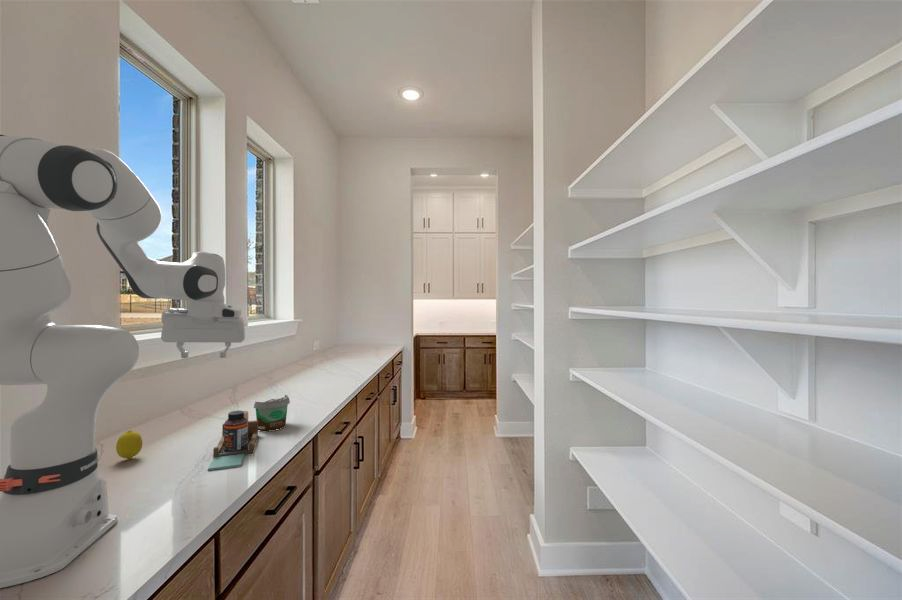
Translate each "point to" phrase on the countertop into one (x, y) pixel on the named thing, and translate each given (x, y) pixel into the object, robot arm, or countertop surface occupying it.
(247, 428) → the peach capsule
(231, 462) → the coaster
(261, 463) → the countertop surface
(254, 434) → the rack
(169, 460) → the countertop surface
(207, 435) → the countertop surface
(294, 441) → the countertop surface
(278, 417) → the food container
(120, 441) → the lemon
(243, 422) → the supplement bottle
